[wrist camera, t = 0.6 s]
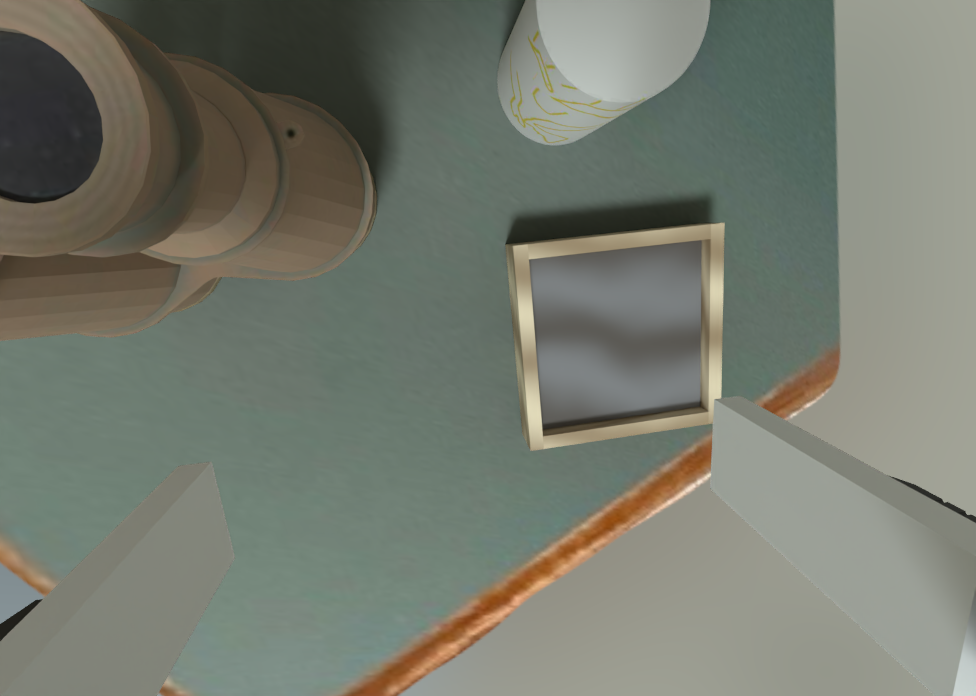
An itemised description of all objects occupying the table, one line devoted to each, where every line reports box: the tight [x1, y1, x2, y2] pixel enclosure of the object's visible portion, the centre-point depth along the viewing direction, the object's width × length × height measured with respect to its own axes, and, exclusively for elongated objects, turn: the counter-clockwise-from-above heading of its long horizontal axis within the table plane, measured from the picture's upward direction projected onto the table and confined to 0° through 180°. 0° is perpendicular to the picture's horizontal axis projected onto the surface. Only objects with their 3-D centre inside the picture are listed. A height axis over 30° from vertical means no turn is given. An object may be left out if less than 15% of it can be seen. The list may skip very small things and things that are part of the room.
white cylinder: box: [497, 0, 710, 145], centre depth 28 cm, size 8×8×12 cm
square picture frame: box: [505, 223, 724, 451], centre depth 37 cm, size 15×15×3 cm
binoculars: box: [0, 0, 377, 341], centre depth 21 cm, size 21×10×25 cm, turn 107°
